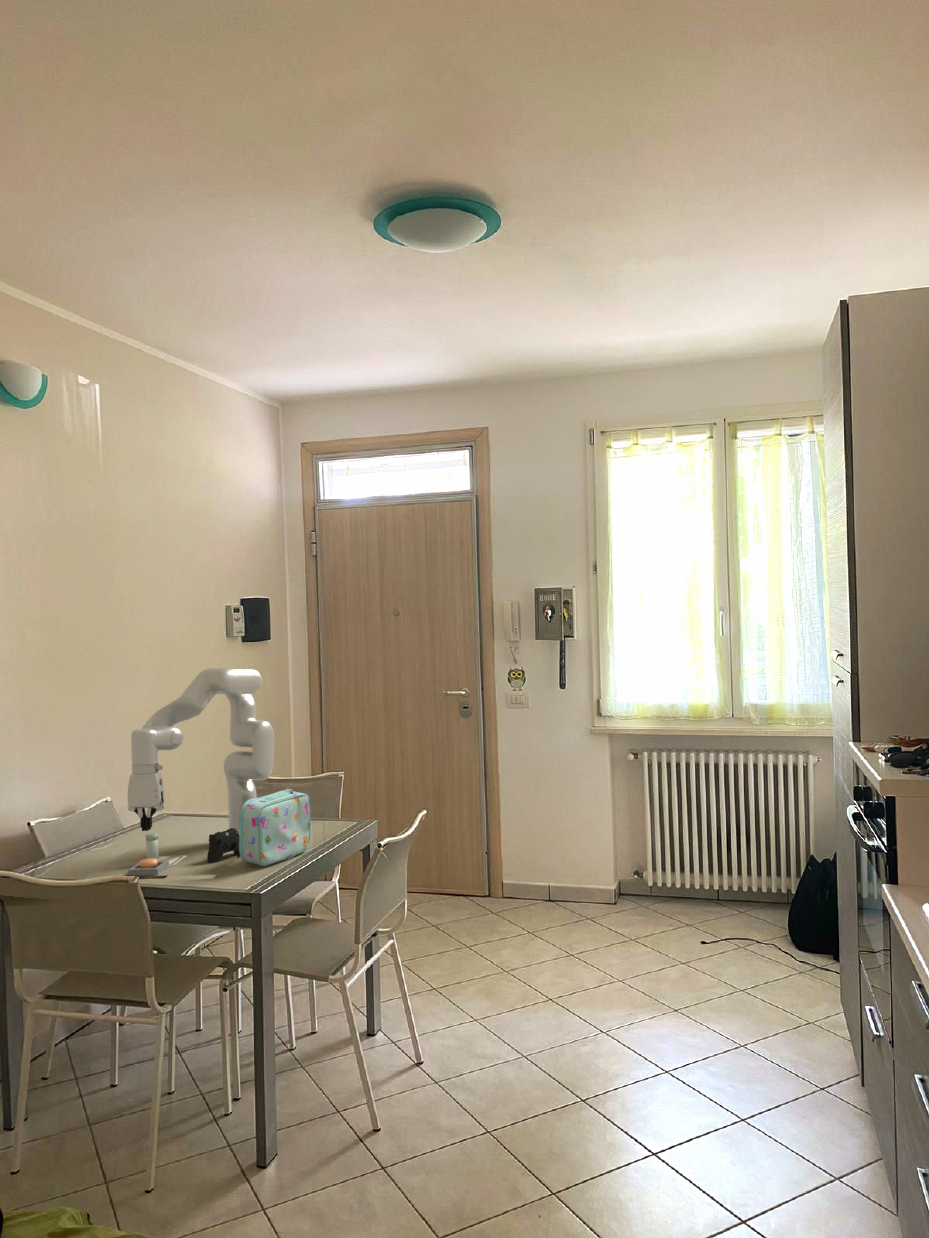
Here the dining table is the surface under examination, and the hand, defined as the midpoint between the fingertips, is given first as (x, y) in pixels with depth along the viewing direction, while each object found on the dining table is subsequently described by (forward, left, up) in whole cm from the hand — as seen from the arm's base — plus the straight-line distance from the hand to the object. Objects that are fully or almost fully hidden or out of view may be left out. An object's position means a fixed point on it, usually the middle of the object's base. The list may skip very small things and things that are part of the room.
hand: (146, 829), depth 285 cm
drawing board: (0, -7, -14) cm, 16 cm away
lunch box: (-36, -16, -14) cm, 42 cm away
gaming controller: (-20, -14, -14) cm, 28 cm away
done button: (0, 0, -11) cm, 11 cm away
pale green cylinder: (+2, -10, -13) cm, 16 cm away
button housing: (0, 0, -14) cm, 14 cm away
